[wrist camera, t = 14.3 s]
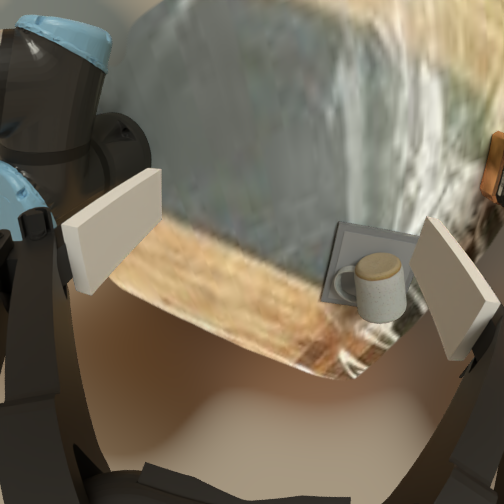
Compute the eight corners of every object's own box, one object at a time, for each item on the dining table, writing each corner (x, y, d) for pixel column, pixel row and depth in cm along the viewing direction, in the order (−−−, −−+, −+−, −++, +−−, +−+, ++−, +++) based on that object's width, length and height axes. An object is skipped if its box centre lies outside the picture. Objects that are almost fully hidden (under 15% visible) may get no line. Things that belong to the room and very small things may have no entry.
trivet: (320, 298, 50) (320, 301, 49) (338, 221, 43) (339, 223, 42) (397, 309, 48) (398, 312, 47) (425, 237, 41) (426, 240, 40)
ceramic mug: (396, 244, 42) (408, 273, 35) (401, 288, 45) (410, 320, 39) (328, 258, 45) (329, 289, 39) (338, 300, 49) (339, 333, 42)
